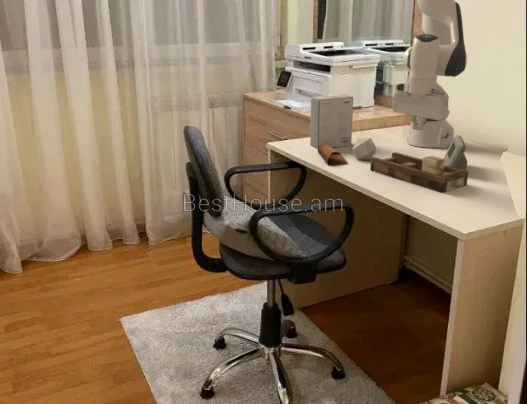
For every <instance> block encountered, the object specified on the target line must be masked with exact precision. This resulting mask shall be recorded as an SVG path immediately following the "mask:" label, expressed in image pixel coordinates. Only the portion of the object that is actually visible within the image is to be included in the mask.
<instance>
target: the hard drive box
mask: <svg viewBox="0 0 527 404" xmlns="http://www.w3.org/2000/svg"><path fill="white" fill-rule="evenodd" d="M353 112H354V96H352V95H348V94H346V93H344V94H343V93H342V94H329V95H318V96H317V95H315V96H310V132H309V133H310V134H309V135H310V137H309V138H310V142H309V143H310V146H311V147H313V148H315V149H317V150H318V147H319V146H320V145H327V146H330V147H332V148H339V147H348V146H349V147H350V146H352V140H353V139H352V134H353Z"/></svg>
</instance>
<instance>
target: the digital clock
mask: <svg viewBox="0 0 527 404" xmlns="http://www.w3.org/2000/svg"><path fill="white" fill-rule="evenodd" d="M466 150H467V146H466V143H465V142H464V138H463V137H462V136H461V135H459V134H457V135H455V136H454V139H453V141H452V143H451V145H450V146H448V149H447V151H446V153H445V155H444V157H443V158H444V159H445V164H444V165H445V166H449V167H453V168H457V169H460V170H461V169H464V170H465V171H467V168H468V159H467V157H466V155H465V151H466Z"/></svg>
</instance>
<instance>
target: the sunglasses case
mask: <svg viewBox="0 0 527 404" xmlns="http://www.w3.org/2000/svg"><path fill="white" fill-rule="evenodd" d="M317 153H318V154H320V156H321V157H322V158H323V160H324V161H325V162H326V163H325V164H327V165H328V166H341V165H342V166H345V165H349V163H348V161H347V160H346V159H345V157H344V156H343V155H342V154H341V152H340V151H339V150H338V149H336V148H335V147H330V146H327V145H320V146H319V147H318V149H317Z"/></svg>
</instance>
